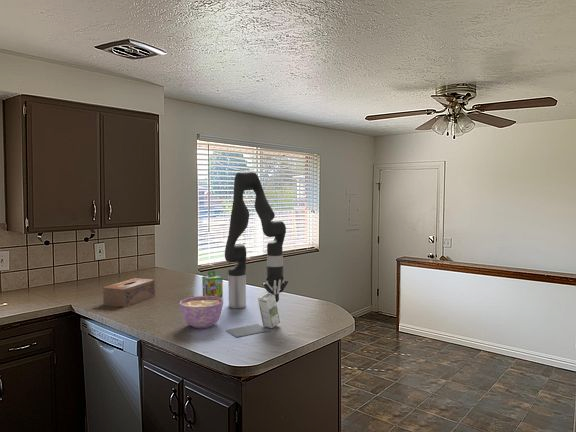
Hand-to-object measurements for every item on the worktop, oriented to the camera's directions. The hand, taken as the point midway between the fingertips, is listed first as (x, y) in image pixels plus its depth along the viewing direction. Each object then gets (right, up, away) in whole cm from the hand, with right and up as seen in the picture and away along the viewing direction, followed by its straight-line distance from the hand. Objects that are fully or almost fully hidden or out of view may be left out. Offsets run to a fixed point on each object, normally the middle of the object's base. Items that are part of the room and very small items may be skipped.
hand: (275, 301), depth 209 cm
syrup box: (-2, -11, 0) cm, 11 cm away
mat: (-12, -12, -7) cm, 18 cm away
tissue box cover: (-84, -9, +49) cm, 98 cm away
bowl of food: (-34, -12, +1) cm, 36 cm away
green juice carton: (-38, -8, +57) cm, 69 cm away
